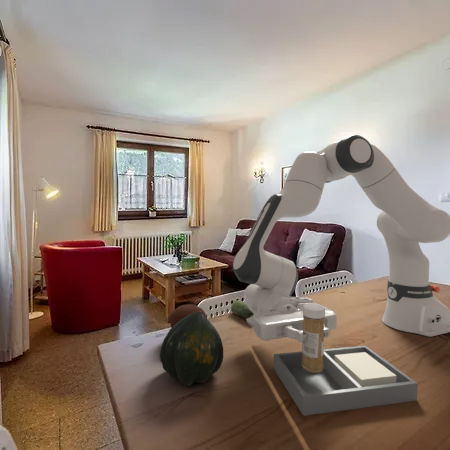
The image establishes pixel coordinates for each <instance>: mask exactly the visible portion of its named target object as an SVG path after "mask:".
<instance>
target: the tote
mask: <svg viewBox="0 0 450 450" xmlns="http://www.w3.org/2000/svg"><path fill="white" fill-rule="evenodd" d="M361 352H366V353H367V354H368V355H370V356H371V357H372V358H374V359H375V360H376V361H378V362H379V363H380V364H382V365H383V366H384V367H386V368H387V369H388V370H390V371H391V372H392V373H394V374H395V375H396V383H392V384H384V385H376V386H367V387H361V386H360V385H359V384H358V383H357V382H356V381H355V380H354V379H353V378H352V377H351V376H350V375H349V374H348V373H347V372H346V371H345V370H344V369H342V368H341V367H340V366H339V365H338V364H337V363H336V362H335V361H334V355H340V354H351V353H361ZM323 367H324V368H323V370H322V371H321V372H319V373H312V372H308V371H306V370H305V369H304V368H303V367H302V350H301V351H292V352H282V353H273V370H274V372H275V373H276V375H277V376H278V378H279V379H280V381H281V383H282V385H284V387H285V390H287V392H288V394H289V396H290V397H291V398H292V400H293V402H294V403H295V405H296V407H297V408H298V410H299V411H300V413H301V414H302V416H304V417H305V416H311V415H312V416H313V415H319V414H327V413H333V412H334V413H335V412H341V411H347V410H348V411H349V410H356V409H363V408H371V407H379V406H386V405H394V404H401V403H402V404H403V403H408V402H415V401H418V386H419V385H418V382H417V381H416V380H414V379H412V377H410V376H408V375H407V374H406V373H405V372H403V371H401V370H400V369H399V368H397V367H396V366H395V365H394V364H392V363H391V362H389V361H387V360H386V359H385V358H384V357H382V356H380V355H379V354H377V353H376V352H375V351H374V350H372V348H370V347H368V346H367V345H357V346H345V347H335V348H324V354H323Z"/></svg>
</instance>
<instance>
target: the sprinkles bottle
mask: <svg viewBox="0 0 450 450" xmlns="http://www.w3.org/2000/svg"><path fill="white" fill-rule="evenodd" d="M315 303H316V302H313V303H308V304H304V305H303V331H304V332H306V333H307V341H304V342H301V345H302V348H301V351H302V367H303V368H304V369H305V370H306V371H308V372H312V373H319V372H321V371H322V370H323V368H324V367H323V354H324V349H325V340H324V339H325V338H324V318H325V307H326V306H324V305H322V304H319V303H317V304H315Z"/></svg>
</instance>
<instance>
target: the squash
mask: <svg viewBox="0 0 450 450" xmlns="http://www.w3.org/2000/svg"><path fill="white" fill-rule="evenodd" d="M159 359H160V363H161V365H162V369H163V370H164V371H165V372H166V373H167V374H168V375H170V376H171V377H172V378H176V379H177V378H178V381H179V382H180V384H181V385H183V386H185V387H189V386H191V385H192V384H194V383H195V382H196V383H198V384H204V383H205V382H207V381H208V380H210V379H209V378H210V377H211V376H212V375H214V374H215V373H218V372H217V371H219V370H220V368H221V366H222V364H223V361H224V345H223V342H222V339H221V336H220V334H219V332H218V330H217V329H216V328H215V326H214V325H213V324H212V323H211V321H210V319H208V317H207V318H206V317H205V315H204V314H203V313H202V312H201V311H199V312H194V313H191V314H190V315H188V316H186V317H185V318H183V319H181V320H180V321H179V322H177V323H176V324H175V325H174V326H173V327H172V328H170V329H169V330H168V332H167V334H166V335H165V337H164V339H163V341H162V344H161V347H160V352H159Z"/></svg>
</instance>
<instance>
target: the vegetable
mask: <svg viewBox="0 0 450 450" xmlns="http://www.w3.org/2000/svg"><path fill="white" fill-rule="evenodd" d="M230 310H231V312H232V313H233V314H234V315H236V316H238V317H241V318H243V319H244V320H247V318H249V317H250V316H253V315H254V314H253V313H252V312H251V311H250V310H249V308H248V307H247V305H246V303H245V302H243V301H242V300H238V299H237V300H234V301H233V302H232V303H231V306H230Z"/></svg>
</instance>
